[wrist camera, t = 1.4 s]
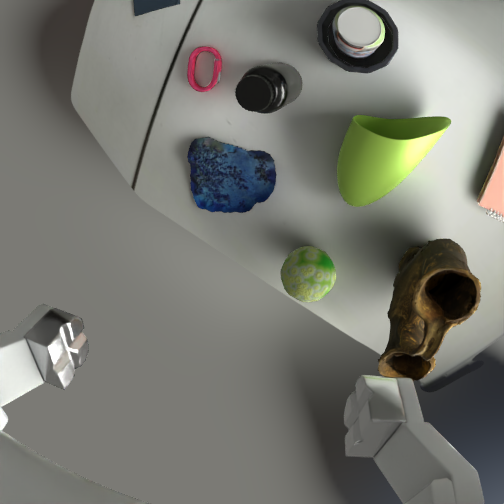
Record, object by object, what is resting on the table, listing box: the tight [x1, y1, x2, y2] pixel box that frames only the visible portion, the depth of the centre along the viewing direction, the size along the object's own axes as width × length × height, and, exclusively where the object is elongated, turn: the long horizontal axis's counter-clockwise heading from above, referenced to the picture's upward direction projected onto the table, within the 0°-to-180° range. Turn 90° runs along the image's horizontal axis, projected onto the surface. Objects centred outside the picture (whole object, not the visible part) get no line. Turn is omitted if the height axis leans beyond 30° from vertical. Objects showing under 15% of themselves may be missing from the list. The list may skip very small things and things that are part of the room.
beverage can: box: [333, 6, 385, 59], centre depth 32 cm, size 6×7×12 cm
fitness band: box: [187, 47, 222, 92], centre depth 47 cm, size 8×6×2 cm
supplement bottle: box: [235, 63, 302, 114], centre depth 40 cm, size 7×7×12 cm
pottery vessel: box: [378, 239, 481, 381], centre depth 46 cm, size 25×11×20 cm, turn 177°
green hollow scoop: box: [337, 115, 451, 207], centre depth 42 cm, size 8×12×20 cm
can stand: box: [317, 0, 398, 73], centre depth 34 cm, size 11×11×5 cm
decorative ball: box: [281, 246, 336, 302], centre depth 57 cm, size 10×10×10 cm
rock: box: [187, 137, 276, 213], centre depth 57 cm, size 15×17×2 cm
